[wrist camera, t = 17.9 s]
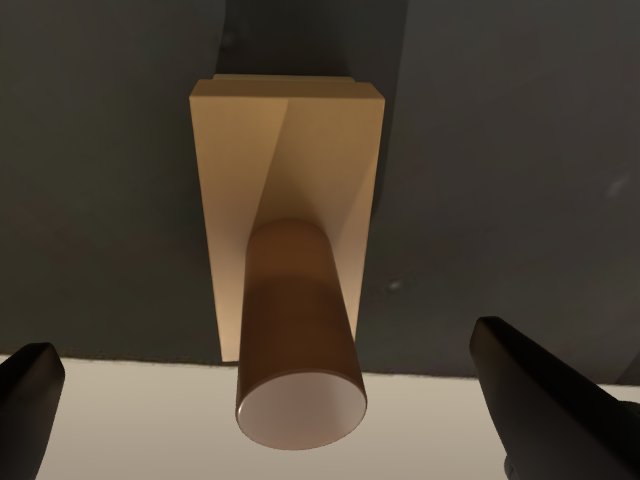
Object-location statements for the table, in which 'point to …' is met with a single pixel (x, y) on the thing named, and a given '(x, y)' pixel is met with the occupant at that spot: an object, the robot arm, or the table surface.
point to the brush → (289, 244)
